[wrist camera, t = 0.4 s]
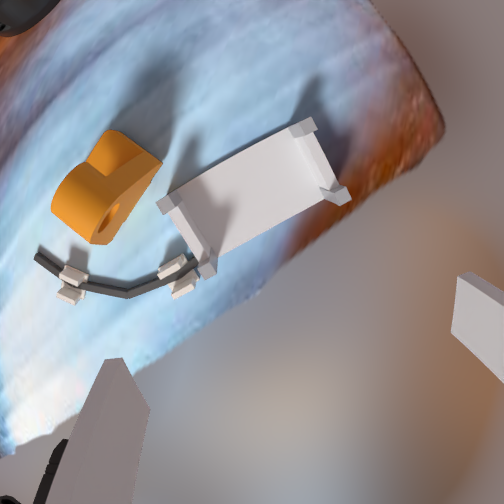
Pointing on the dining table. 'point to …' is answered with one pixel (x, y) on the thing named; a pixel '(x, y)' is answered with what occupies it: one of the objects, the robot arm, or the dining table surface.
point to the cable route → (76, 285)
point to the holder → (252, 193)
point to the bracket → (104, 187)
